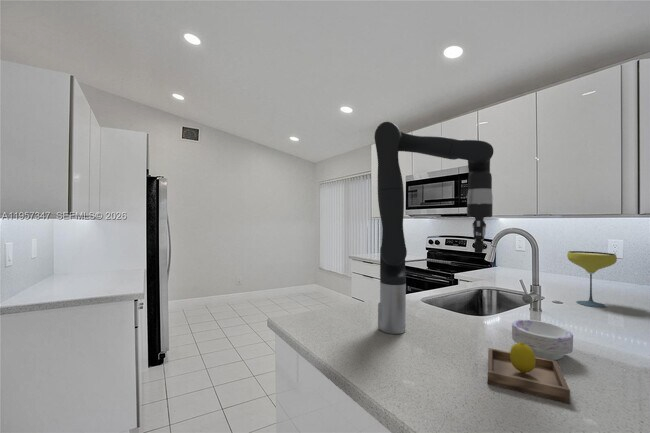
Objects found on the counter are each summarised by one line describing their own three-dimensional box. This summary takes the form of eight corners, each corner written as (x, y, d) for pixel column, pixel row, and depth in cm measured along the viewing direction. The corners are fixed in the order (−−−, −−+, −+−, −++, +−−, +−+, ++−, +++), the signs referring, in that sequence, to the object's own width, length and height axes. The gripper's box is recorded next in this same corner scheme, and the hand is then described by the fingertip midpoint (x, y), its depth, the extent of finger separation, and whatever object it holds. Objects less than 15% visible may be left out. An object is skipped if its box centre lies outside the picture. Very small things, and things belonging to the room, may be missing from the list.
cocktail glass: (578, 307, 141) (578, 254, 141) (560, 298, 158) (560, 250, 158) (626, 311, 136) (626, 256, 136) (602, 301, 153) (602, 251, 153)
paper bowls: (577, 370, 81) (577, 341, 82) (511, 356, 90) (511, 329, 90) (568, 350, 94) (568, 324, 94) (511, 339, 102) (511, 316, 102)
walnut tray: (487, 383, 74) (487, 371, 74) (488, 358, 88) (488, 347, 88) (569, 403, 67) (569, 390, 67) (556, 372, 80) (556, 360, 81)
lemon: (540, 379, 74) (539, 347, 74) (516, 378, 75) (515, 346, 75) (529, 368, 80) (528, 338, 80) (506, 367, 81) (505, 337, 81)
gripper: (468, 204, 108) (468, 249, 108) (465, 202, 96) (464, 252, 96) (492, 204, 105) (492, 250, 105) (492, 201, 92) (491, 254, 92)
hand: (479, 251), depth 100 cm, fingers open, 8 cm apart
